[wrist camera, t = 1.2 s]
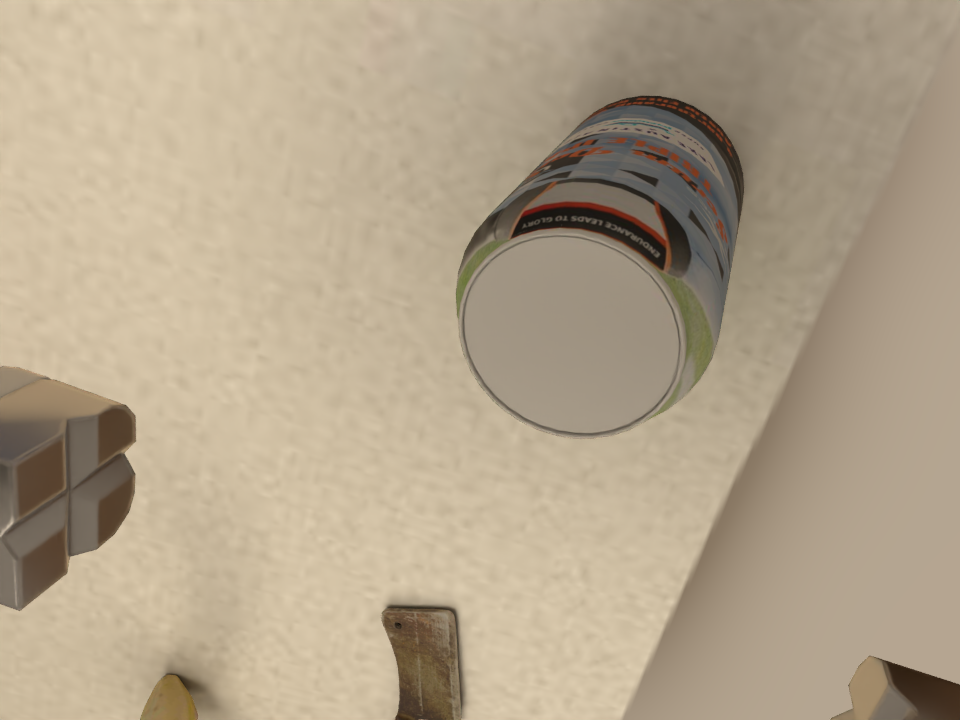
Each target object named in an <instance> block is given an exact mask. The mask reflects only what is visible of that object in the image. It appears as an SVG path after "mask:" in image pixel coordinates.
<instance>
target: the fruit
mask: <svg viewBox="0 0 960 720" xmlns="http://www.w3.org/2000/svg"><path fill="white" fill-rule="evenodd" d="M197 719H198V713H197V710H196V708H195V705H194V702H193V698H192V696H191V695H190V693H189V692H188V691H187V689H186V688H185V687H184V685H183V683H182V682H181V680H180V679H179V678H178V677H177V676H176V675H166V676H164V677H163V678H162V679H161V680H160V681H159V682H158V683H157V685H156V686H155V688H154V690H153V692H152V694H151V696H150V698H149V699H148V701H147V703H146V705H145V707H144V710H143V712H142V715H141V718H140V720H197Z"/></svg>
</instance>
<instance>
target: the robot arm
mask: <svg viewBox="0 0 960 720" xmlns="http://www.w3.org/2000/svg"><path fill="white" fill-rule="evenodd" d="M135 442H136V419H135V415H134V414H133V412H132V411H131V410H130V409H129V408H128V407H127V406H126V405H124V404H121V403H118V402H116V401H113V400H110V399H107V398H104V397H102V396H99V395H96V394H93V393H91V392H88V391H85V390H82V389H79V388H77V387H74V386H71V385H68V384H66V383H63V382H60V381H57V380H52V379H50V378H48V377H46V376H43V375H40V374H37V373H34V372H31V371H28V370H25V369H22V368H19V367H7V366H2V367H0V604H2V605H5V606H7V607H10V608H13V609H16V610H19V611H20V610H22V609H23V608H24V607H25V606H27V605H28V604H29V603H30V602H32V601H33V600H34V599H35V598H37V597H38V596H39V595H40V594H42V593H43V592H44V591H45V590H47V589H48V588H49V587H50V586H52V585H53V584H54V583H55V582H57V581H58V580H59V579H61V578H62V577H63V576H64V575H66V574H67V572H68V566H69V560H70V557H71V556H74V555H78V554H82V553H85V552H89V551H93V550H96V549H98V548H99V547H100V546H101V545H102V544H104V543H105V542H106V541H107V540H108V539H110V538H111V537H112V536H113V535H114V534H115V533H116V531H117V530H118V528H119V527H120V525H121V524H122V522H123V521H124V519H125V517H126V516H127V514H128V513H129V510H130V507H131V503H132V500H133V496H134V493H135V473H134V471H133V469H132V467H131V465H130V463H129V461H128V460H127V458H126V456H125V454H124V453H125V452H126V451H127V450H128V449H129V448H130V447H131V446H132V445H133V444H134V443H135ZM848 686H849V690H850V696H851V700H852V705H853V709H851V710H848V711H846V712H844V713H841V714H839V715H837V716H835V717H832V718H831V719H830V720H960V685H959V684H956V683H953V682H950V681H947V680H944V679H941V678H937V677H935V676H931V675H929V674H925V673H922V672H919V671H916V670H913V669H910V668H906V667H904V666H901V665H897V664H895V663H891V662H888V661H885V660H882V659H879V658H876V657H873V656H869V657H868V658H867V659H865V660H864V661H863V662H862V663H861V664H860V665H859V666H858V668H857V670H856V672H855V674H854V676H853V677H852V679H851V681H850V683H849V685H848Z"/></svg>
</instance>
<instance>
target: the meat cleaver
mask: <svg viewBox="0 0 960 720" xmlns="http://www.w3.org/2000/svg"><path fill="white" fill-rule="evenodd" d="M381 619H382V623H383V626H384V628H385V630H386V633H387V635H388V637H389V640H390V642H391V645H392V648H393V651H394V654H395V657H396V661H397V666H398V673H399V687H400V701H399V709H398V713H397V716H396V719H395V720H419V719H423V720H461V704H460V687H459V672H458V654H457V638H456V624H455V617H454V615H453V613H452V612H450V611H449V610H438V609H392V608H389V609H385V610H384V611H383V612H382V617H381ZM396 622H399V623H400V624H401V625H402V626H399V625H398V624H397V623H396Z"/></svg>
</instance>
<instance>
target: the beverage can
mask: <svg viewBox="0 0 960 720" xmlns="http://www.w3.org/2000/svg"><path fill="white" fill-rule="evenodd" d="M743 195H744V182H743V172H742V168H741V164H740V161H739V157H738V155H737V153H736V151H735V149H734V146H733V144H732V142H731V141H730V139H729V138H728V137H727V135H726V134H725V132H724V131H723V130H722V128H721V127H720V126H719V125H718V124H717V123H715V122H714V121H713V120H712V119H711V118H710V117H709V116H708V115H706V114H705V113H703V112H702V111H700V110H698V109H697V108H695V107H694V106H691V105H689V104H686V103H684V102H681V101H679V100H676V99H671V98H666V97H661V96H638V97H632V98H626V99H622V100H620V101H617V102H614V103H611V104H608V105H606V106H605V107H603V108H601V109H599V110H598V111H596V112H594V113H593V114H592V115H590V116H589V117H588V118H587V119H586V120H584V121H583V122H582V123H581V124H580V125H579V126H578V127H577V128H576V129H575V130H574V131H573V132H572V133H571V134H570V135H569V136H568V137H567V138H566V139H565V140H564V141H563V142H562V143H561V144H560V145H559V146H558V147H557V148H556V149H555V150H554V151H553V152H552V153H551V154H550V155H549V156H548V157H547V158H546V159H545V160H544V161H543V162H542V163H541V164H540V165H539V166H538V167H537V168H536V169H535V170H534V171H533V172H532V173H531V174H530V175H529V176H528V177H527V178H526V179H525V180H524V181H523V182H522V183H521V184H520V185H519V186H518V187H517V188H516V189H515V190H514V191H513V192H512V193H511V194H510V195H509V196H508V197H507V198H506V199H505V200H504V201H503V202H502V203H501V204H500V205H499V206H498V207H497V208H496V209H495V210H494V211H493V212H492V213H491V214H490V215H489V216H488V217H487V219H486V220H485V221H484V222H483V223H482V225H481V226H480V227H479V228H478V230H477V231H476V232H475V234H474V236H473V237H472V239H471V241H470V243H469V245H468V247H467V248H466V250H465V253H464V256H463V259H462V262H461V266H460V269H459V272H458V280H457V288H456V303H457V316H458V322H459V338H460V342H461V346H462V350H463V354H464V357H465V359H466V361H467V364H468V366H469V368H470V371H471V372H472V374H473V376H474V377H475V379H476V380H477V382H478V383H479V385H480V387H481V388H482V389H483V390H484V391H485V392H486V394H487V395H488V396H489V397H490V398H491V399H492V400H493V401H494V402H495V403H496V404H497V405H498V406H500V407H501V408H502V409H503V410H504V411H505V412H507V413H508V414H510V415H511V416H513V417H514V418H516V419H517V420H519V421H520V422H522V423H524V424H526V425H529V426H531V427H533V428H535V429H537V430H540V431H543V432H546V433H549V434H553V435H556V436H562V437H568V438H575V439H594V438H601V437H608V436H613V435H616V434H619V433H622V432H625V431H628V430H630V429H632V428H634V427H636V426H638V425H640V424H642V423H644V422H645V421H647V420H649V419H651V418H653V417H654V416H656V415H658V414H660V413H662V412H664V411H666V410H668V409H669V408H670V407H672V406H673V405H674V404H676V403H677V402H678V401H679V400H681V399H682V398H683V397H684V396H686V395H687V393H688V392H689V391H690V390H691V389H692V388H693V387H694V385H695V384H696V383H697V382H698V381H699V380H700V378H701V377H702V375H703V373H704V371H705V370H706V368H707V366H708V364H709V363H710V361H711V359H712V356H713V353H714V350H715V347H716V344H717V341H718V338H719V333H720V328H721V322H722V317H723V311H724V305H725V300H726V294H727V289H728V283H729V277H730V272H731V266H732V261H733V255H734V249H735V244H736V238H737V232H738V227H739V221H740V216H741V210H742V203H743Z"/></svg>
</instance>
